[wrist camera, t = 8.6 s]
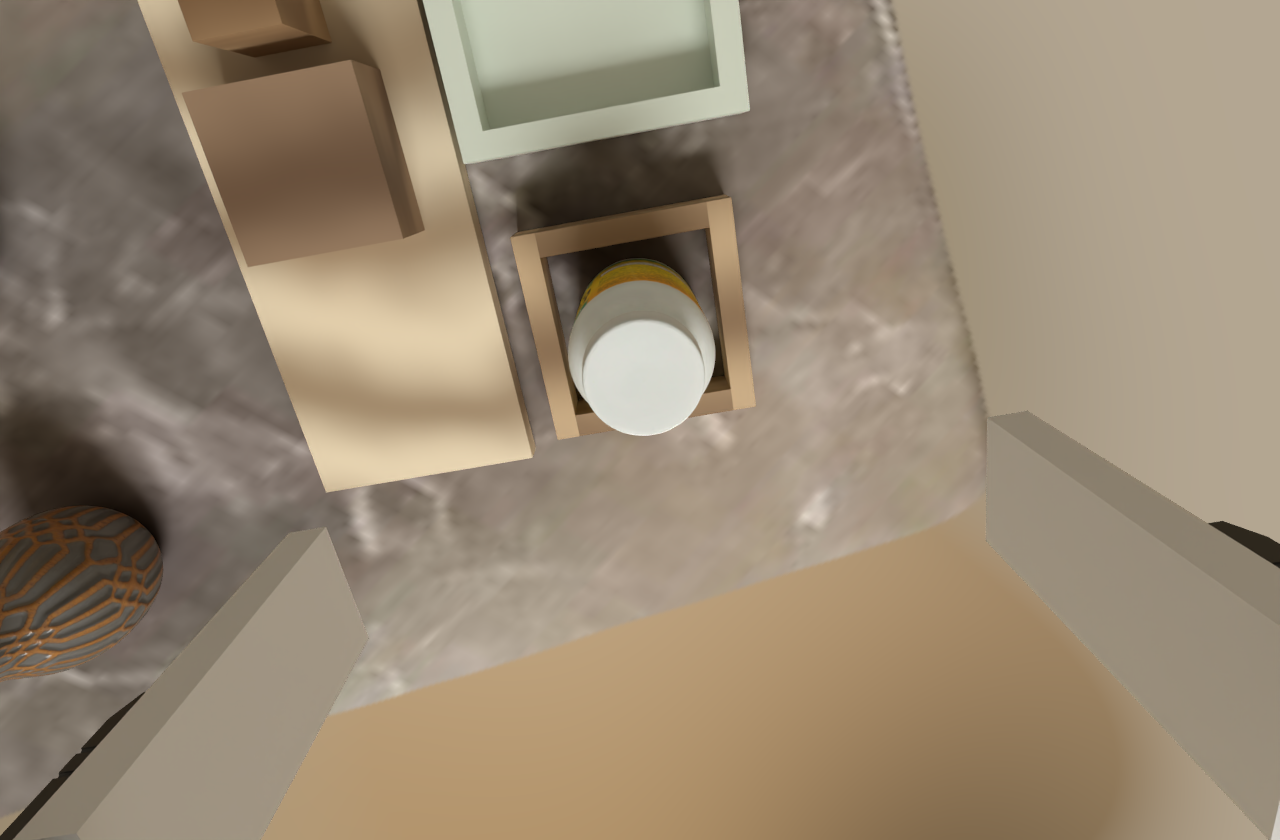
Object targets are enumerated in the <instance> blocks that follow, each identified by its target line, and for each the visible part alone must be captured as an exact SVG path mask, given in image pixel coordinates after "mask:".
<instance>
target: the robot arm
mask: <svg viewBox="0 0 1280 840" xmlns="http://www.w3.org/2000/svg"><path fill="white" fill-rule="evenodd" d="M986 541H987V542H988V543H989V544H990V546H991V547H992V548H993V549H994V550H995V551H996V552H997V553H998V554H999V555H1000V556H1001V557H1002V558H1003V559H1004V560H1005V561H1006V563H1007V564H1008V565H1009V566H1010V567H1011V568H1012V569H1013V570H1014V571H1015V572H1016V573H1017V574H1018V575H1019V576H1020V577H1021V578H1022V579H1023V581H1025V583H1026V584H1027V585H1029V587H1030V588H1031V589H1032V590H1033V591H1034V592H1035V593H1036V594H1037V595H1038V596H1039V597H1040V599H1041V600H1043V602H1044V603H1045V604H1046V605H1047V606H1048V607H1049V608H1050V609H1051V610H1052V611H1053V612H1054V613H1055V614H1056V615H1057V617H1058V618H1059V619H1060V620H1061V621H1062V622H1063V623H1064V624H1065V625H1066V626H1067V627H1068V628H1069V629H1070V630H1071V631H1072V632H1073V633H1074V634H1075V636H1076V637H1077V638H1078V639H1079V640H1080V641H1081V642H1082V643H1083V644H1084V645H1085V646H1086V647H1087V648H1088V649H1089V650H1090V651H1091V652H1092V654H1093V655H1095V657H1096V658H1097V659H1098V660H1099V661H1100V662H1101V663H1102V664H1103V665H1104V666H1105V667H1106V668H1107V669H1108V670H1109V671H1110V673H1111V674H1112V675H1113V676H1114V677H1115V678H1116V679H1117V680H1118V681H1119V682H1120V683H1121V684H1122V685H1123V686H1124V687H1125V688H1126V689H1127V690H1128V692H1129V693H1130V694H1131V695H1132V696H1133V697H1134V698H1135V699H1136V700H1137V701H1138V702H1139V703H1140V704H1141V705H1142V706H1143V707H1144V709H1145V710H1146V711H1147V712H1148V713H1149V714H1150V715H1151V716H1152V717H1153V718H1154V719H1155V720H1156V721H1157V722H1158V723H1159V724H1160V725H1161V726H1162V728H1163V729H1164V730H1165V731H1166V732H1167V733H1168V734H1169V735H1170V736H1171V737H1172V738H1173V739H1174V740H1175V741H1176V742H1177V743H1178V744H1179V746H1180V747H1181V748H1182V749H1183V750H1184V751H1185V752H1186V753H1187V754H1188V755H1189V756H1190V757H1191V758H1192V759H1193V760H1194V761H1195V762H1196V763H1197V764H1198V765H1199V767H1201V769H1202V770H1203V771H1204V772H1205V773H1206V774H1207V775H1208V776H1209V777H1210V778H1211V779H1212V780H1213V781H1214V782H1215V784H1216V785H1217V786H1218V787H1219V788H1220V789H1221V790H1222V791H1223V792H1224V793H1225V794H1226V795H1227V796H1228V797H1229V798H1230V799H1231V800H1232V802H1233V803H1234V804H1235V805H1236V806H1237V807H1238V808H1239V809H1240V810H1241V811H1242V812H1243V813H1244V814H1245V815H1246V816H1247V817H1248V818H1249V820H1250V821H1251V822H1252V823H1253V824H1254V825H1255V826H1256V827H1257V828H1258V829H1259V830H1260V831H1261V832H1262V833H1263V834H1264V835H1265V836H1266V837H1267V838H1268V840H1280V544H1279V543H1277V542H1275V541H1274V540H1272V539H1270V538H1269V537H1266V536H1264V535H1261V534H1258V533H1255V532H1252V531H1249V530H1246V529H1244V528H1241V527H1238V526H1235V525H1232V524H1230V523H1227V522H1224V521H1220V522H1214V523H1206V522H1205V521H1203V520H1201V519H1200V518H1198V517H1196V516H1195V515H1193V514H1192V513H1190V512H1189V511H1187V510H1185V509H1184V508H1182V507H1181V506H1179V505H1177V504H1176V503H1174V502H1173V501H1171V500H1169V499H1168V498H1166V497H1164V496H1163V495H1161V494H1160V493H1158V492H1157V491H1155V490H1153V489H1151V488H1150V487H1149V486H1147V485H1145V484H1143V483H1142V482H1141V481H1139V480H1137V479H1136V478H1134V477H1132V476H1131V475H1129V474H1128V473H1126V472H1124V471H1123V470H1121V469H1120V468H1118V467H1116V466H1115V465H1113V464H1112V463H1110V462H1109V461H1107V460H1105V459H1104V458H1102V457H1100V456H1099V455H1097V454H1096V453H1094V452H1093V451H1091V450H1089V449H1088V448H1086V447H1084V446H1083V445H1081V444H1080V443H1078V442H1077V441H1075V440H1073V439H1072V438H1070V437H1069V436H1067V435H1065V434H1064V433H1062V432H1060V431H1059V430H1057V429H1056V428H1054V427H1053V426H1051V425H1049V424H1048V423H1046V422H1044V421H1043V420H1041V419H1040V418H1038V417H1037V416H1035V415H1033V414H1032V413H1030V412H1028V411H1024V412H1018V413H1012V414H1006V415H1000V416H994V417H988V418H987V484H986ZM368 639H369V637H368V635H367V632H366V629H365V627H364V624H363V622H362V619H361V616H360V614H359V611H358V609H357V606H356V603H355V601H354V598H353V596H352V593H351V591H350V588H349V585H348V583H347V580H346V578H345V575H344V572H343V570H342V567H341V565H340V562H339V559H338V557H337V554H336V552H335V549H334V547H333V544H332V541H331V539H330V536H329V534H328V531H327V528H326V527H322V528H316V529H310V530H304V531H298V532H292V533H289V534H288V535H287V536H286V537H285V538H284V539H283V540H282V541H281V542H280V544H279V545H278V546H277V547H276V548H275V549H274V550H273V551H272V552H271V554H270V555H269V556H268V557H267V558H266V559H265V560H264V561H263V562H262V564H261V565H260V566H259V567H258V568H257V569H256V570H255V571H254V572H253V574H252V575H251V576H250V577H249V578H248V579H247V580H246V581H245V582H244V583H243V585H242V586H241V587H240V588H239V589H238V590H237V591H236V592H235V593H234V595H233V596H232V597H231V598H230V599H229V600H228V601H227V602H226V603H225V605H224V606H223V607H222V608H221V609H220V610H219V611H218V612H217V613H216V615H215V616H214V617H213V618H212V619H211V620H210V621H209V622H208V623H207V625H206V626H205V627H204V628H203V629H202V630H201V631H200V632H199V633H198V635H197V636H196V637H195V638H194V639H193V640H192V641H191V642H190V643H189V645H188V646H187V647H186V648H185V649H184V650H183V651H182V652H181V653H180V655H179V656H178V657H177V658H176V659H175V660H174V661H173V662H172V663H171V665H170V666H169V667H168V668H167V669H166V670H165V671H164V672H163V673H162V675H161V676H160V677H159V678H158V679H157V680H156V681H155V682H154V683H153V685H152V686H151V687H150V688H149V689H148V690H147V691H146V692H143V693H142V694H141V695H139V696H138V697H137V698H135V699H134V700H133V701H132V702H130V703H129V704H128V705H126V706H125V707H124V708H122V709H121V710H120V711H118V712H117V713H116V714H114V715H113V716H112V717H110V718H109V719H108V720H107V721H106V722H105V723H104V724H103V725H102V726H101V728H100V729H99V730H98V731H97V732H96V733H95V734H94V735H93V736H92V737H91V738H90V739H89V741H88V742H87V743H86V744H85V745H84V746H83V747H82V748H81V749H82V752H81V753H80V754H76V755H75V756H74V757H73V758H72V759H71V760H70V761H69V762H68V763H67V764H66V765H65V766H64V768H63V769H62V770H61V771H60V772H59V777H58V778H56V779H52V781H51V782H50V783H49V784H48V785H47V786H46V787H45V788H44V789H43V790H42V791H41V792H40V794H39V795H38V796H37V797H36V798H35V799H34V800H33V801H32V802H31V803H30V804H29V805H28V807H27V808H26V809H25V810H24V811H23V812H22V813H21V814H20V815H19V816H18V817H17V819H16V820H15V821H14V822H13V823H12V824H11V825H10V826H9V827H8V828H7V829H6V830H5V831H4V832H3V834H2V835H1V836H0V840H261V838H262V837H263V835H264V833H265V831H266V829H267V827H268V825H269V824H270V822H271V820H272V818H273V816H274V814H275V812H276V810H277V808H278V807H279V805H280V803H281V801H282V799H283V797H284V795H285V794H286V792H287V790H288V788H289V786H290V784H291V782H292V781H293V779H294V777H295V775H296V773H297V771H298V769H299V767H300V766H301V764H302V762H303V760H304V758H305V756H306V754H307V753H308V751H309V749H310V747H311V745H312V743H313V741H314V740H315V738H316V736H317V734H318V732H319V730H320V728H321V726H322V724H323V722H324V721H325V719H326V717H327V715H328V713H329V712H330V710H331V708H332V706H333V704H334V702H335V700H336V699H337V697H338V695H339V693H340V691H341V689H342V687H343V685H344V684H345V682H346V680H347V678H348V676H349V674H350V672H351V671H352V669H353V667H354V665H355V663H356V661H357V659H358V657H359V656H360V654H361V652H362V650H363V648H364V646H365V644H366V643H367V641H368Z"/></svg>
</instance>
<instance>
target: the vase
mask: <svg viewBox="0 0 1280 840" xmlns="http://www.w3.org/2000/svg"><path fill="white" fill-rule="evenodd" d="M162 577H163V561H162V555H161V552H160V549H159V546H158V544H157V543H156V541H155V539H154V537H153V536H152V534H151V533H150V532H149V531H148V530H147V529H146V528H145V527H144V526H143V525H142V524H141V523H139V522H138V521H137V520H135V519H134V518H132V517H130V516H128V515H126V514H123V513H121V512H119V511H116V510H113V509H109V508H104V507H98V506H88V505H79V506H69V507H62V508H57V509H53V510H49V511H45V512H42V513H39V514H36V515H33V516H30V517H28V518H26V519H24V520H22V521H20V522H18V523H15V524H14V525H12V526H10V527H8V528H7V529H5V530H3V531H1V532H0V682H1V681H5V680H11V679H21V678H30V677H38V676H45V675H50V674H55V673H59V672H63V671H66V670H69V669H71V668H74V667H77V666H79V665H81V664H83V663H86V662H88V661H89V660H91V659H93V658H95V657H97V656H99V655H101V654H102V653H104V652H106V651H107V650H109V649H110V648H112V647H113V646H114V645H116V644H117V643H118V642H120V641H121V640H122V639H123V638H124V637H125V636H126V635H128V634H129V633H130V632H131V631H132V630H133V628H134V627H135V626H136V625H137V624H138V623H139V622H140V621H141V620H142V618H143V617H144V616H145V615H146V613H147V612H148V610H149V609H150V607H151V605H152V604H153V602H154V600H155V598H156V596H157V594H158V591H159V589H160V585H161V581H162Z"/></svg>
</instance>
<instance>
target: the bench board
mask: <svg viewBox="0 0 1280 840" xmlns="http://www.w3.org/2000/svg"><path fill="white" fill-rule="evenodd" d="M137 1H138V3H139V6H140V8H141V11H142V14H143V16H144V19H145V21H146V24H147V27H148V29H149V32H150V34H151V37H152V40H153V42H154V45H155V47H156V50H157V53H158V55H159V58H160V61H161V63H162V66H163V68H164V71H165V74H166V76H167V79H168V81H169V84H170V87H171V89H172V92H173V94H174V97H175V100H176V102H177V105H178V107H179V110H180V113H181V115H182V118H183V120H184V123H185V126H186V128H187V131H188V133H189V136H190V139H191V141H192V144H193V146H194V149H195V152H196V154H197V157H198V160H199V162H200V165H201V167H202V170H203V173H204V175H205V178H206V180H207V183H208V186H209V188H210V191H211V193H212V196H213V199H214V201H215V204H216V206H217V209H218V212H219V214H220V217H221V219H222V222H223V225H224V227H225V230H226V232H227V235H228V238H229V240H230V243H231V245H232V248H233V251H234V253H235V256H236V259H237V261H238V264H239V266H240V269H241V272H242V274H243V277H244V279H245V282H246V285H247V287H248V290H249V292H250V295H251V298H252V300H253V303H254V305H255V308H256V311H257V313H258V316H259V318H260V321H261V324H262V326H263V329H264V331H265V334H266V337H267V339H268V342H269V344H270V347H271V350H272V352H273V355H274V358H275V360H276V363H277V365H278V368H279V371H280V373H281V376H282V378H283V381H284V384H285V386H286V389H287V391H288V394H289V397H290V399H291V402H292V404H293V407H294V410H295V412H296V415H297V417H298V420H299V423H300V425H301V428H302V430H303V433H304V436H305V438H306V441H307V443H308V446H309V449H310V451H311V454H312V457H313V459H314V462H315V464H316V467H317V470H318V472H319V475H320V477H321V480H322V483H323V485H324V488H325V490H326V492H331V491H337V490H343V489H349V488H355V487H361V486H367V485H373V484H379V483H385V482H391V481H397V480H403V479H409V478H415V477H421V476H427V475H433V474H439V473H445V472H450V471H456V470H462V469H468V468H474V467H480V466H486V465H492V464H498V463H504V462H510V461H516V460H522V459H528V458H533V455H534V451H535V448H536V447H535V443H534V439H533V435H532V431H531V427H530V423H529V419H528V415H527V411H526V407H525V403H524V399H523V395H522V391H521V387H520V383H519V379H518V375H517V371H516V367H515V363H514V359H513V355H512V351H511V347H510V343H509V339H508V335H507V331H506V327H505V323H504V319H503V315H502V311H501V307H500V303H499V299H498V295H497V291H496V287H495V283H494V279H493V275H492V271H491V267H490V263H489V259H488V255H487V251H486V247H485V243H484V239H483V235H482V231H481V227H480V223H479V219H478V215H477V211H476V207H475V203H474V199H473V195H472V191H471V187H470V183H469V179H468V175H467V171H466V167H465V164H464V163H463V159H462V155H461V151H460V147H459V143H458V139H457V135H456V131H455V127H454V123H453V119H452V115H451V111H450V107H449V103H448V99H447V95H446V91H445V87H444V83H443V79H442V75H441V71H440V67H439V63H438V59H437V56H436V52H435V48H434V44H433V40H432V36H431V32H430V28H429V24H428V20H427V16H426V12H425V8H424V4H423V0H137ZM346 60H353V61H356V62H359V63H362V64H365V65H368V66H371V67H374V68H377V69H380V71H381V75H382V78H383V82H384V85H385V89H386V92H387V96H388V100H389V103H390V107H391V110H392V114H393V117H394V121H395V125H396V128H397V132H398V135H399V139H400V142H401V146H402V150H403V153H404V157H405V160H406V164H407V167H408V171H409V174H410V178H411V182H412V185H413V189H414V192H415V196H416V199H417V203H418V207H419V210H420V214H421V217H422V221H423V224H424V228H425V230H424V231H422V232H419V233H417V234H414V235H412V236H409V237H406V238H404V239H399V240H394V241H388V242H383V243H377V244H372V245H367V246H361V247H356V248H350V249H345V250H339V251H334V252H328V253H323V254H318V255H312V256H307V257H301V258H296V259H290V260H285V261H279V262H274V263H269V264H263V265H258V266H252V267H248V266H247V264H246V261H245V259H244V256H243V253H242V251H241V248H240V245H239V243H238V240H237V238H236V235H235V232H234V230H233V227H232V224H231V222H230V219H229V217H228V214H227V211H226V209H225V206H224V203H223V201H222V198H221V195H220V193H219V190H218V188H217V185H216V182H215V180H214V177H213V174H212V172H211V169H210V167H209V164H208V161H207V159H206V156H205V153H204V151H203V148H202V146H201V143H200V140H199V138H198V135H197V132H196V130H195V127H194V125H193V122H192V119H191V117H190V114H189V111H188V109H187V106H186V103H185V101H184V98H183V96H182V93H183V92H188V91H193V90H198V89H203V88H208V87H213V86H218V85H224V84H229V83H234V82H239V81H244V80H249V79H254V78H259V77H265V76H270V75H275V74H280V73H285V72H290V71H295V70H300V69H305V68H311V67H316V66H321V65H326V64H331V63H336V62H341V61H346Z"/></svg>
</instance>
